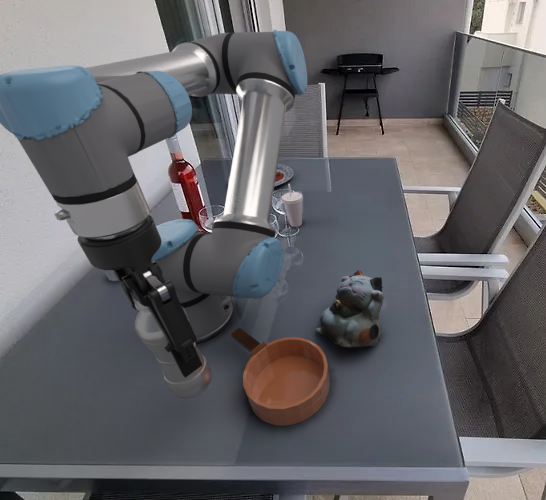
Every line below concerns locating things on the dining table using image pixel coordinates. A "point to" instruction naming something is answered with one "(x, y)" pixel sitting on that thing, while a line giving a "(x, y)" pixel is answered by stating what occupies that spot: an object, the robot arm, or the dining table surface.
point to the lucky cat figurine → (354, 312)
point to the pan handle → (247, 341)
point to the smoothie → (293, 207)
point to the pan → (287, 381)
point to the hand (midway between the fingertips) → (180, 357)
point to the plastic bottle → (170, 356)
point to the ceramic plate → (282, 174)
